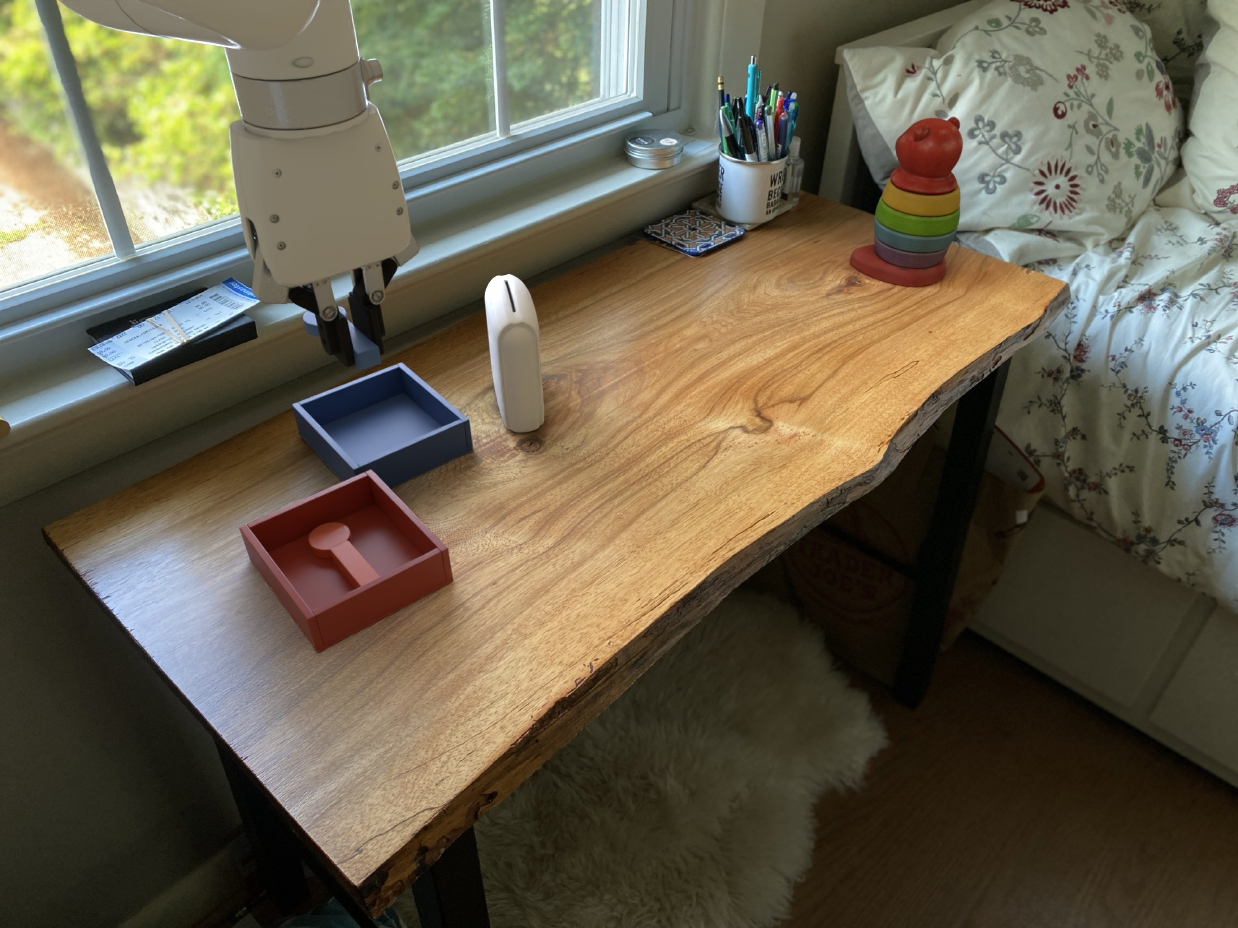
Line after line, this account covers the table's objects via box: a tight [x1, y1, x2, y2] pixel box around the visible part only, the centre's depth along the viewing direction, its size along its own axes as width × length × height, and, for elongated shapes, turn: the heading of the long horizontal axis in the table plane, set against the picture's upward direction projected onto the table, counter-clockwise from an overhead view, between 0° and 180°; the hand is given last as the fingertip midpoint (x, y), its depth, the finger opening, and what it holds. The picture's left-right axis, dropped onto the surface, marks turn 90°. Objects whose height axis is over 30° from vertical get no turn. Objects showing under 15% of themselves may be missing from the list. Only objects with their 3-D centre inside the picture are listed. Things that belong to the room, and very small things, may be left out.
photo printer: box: [484, 273, 545, 433], centre depth 86 cm, size 10×4×12 cm, turn 13°
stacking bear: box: [849, 116, 964, 287], centre depth 107 cm, size 11×10×18 cm
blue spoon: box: [302, 305, 382, 371], centre depth 69 cm, size 9×3×1 cm, turn 39°
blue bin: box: [291, 362, 474, 489], centre depth 84 cm, size 11×12×4 cm
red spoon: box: [308, 522, 380, 589], centre depth 72 cm, size 9×3×1 cm, turn 39°
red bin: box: [238, 470, 454, 654], centre depth 71 cm, size 11×12×4 cm
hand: (356, 351), depth 68 cm, fingers closed on blue spoon, 1 cm apart
